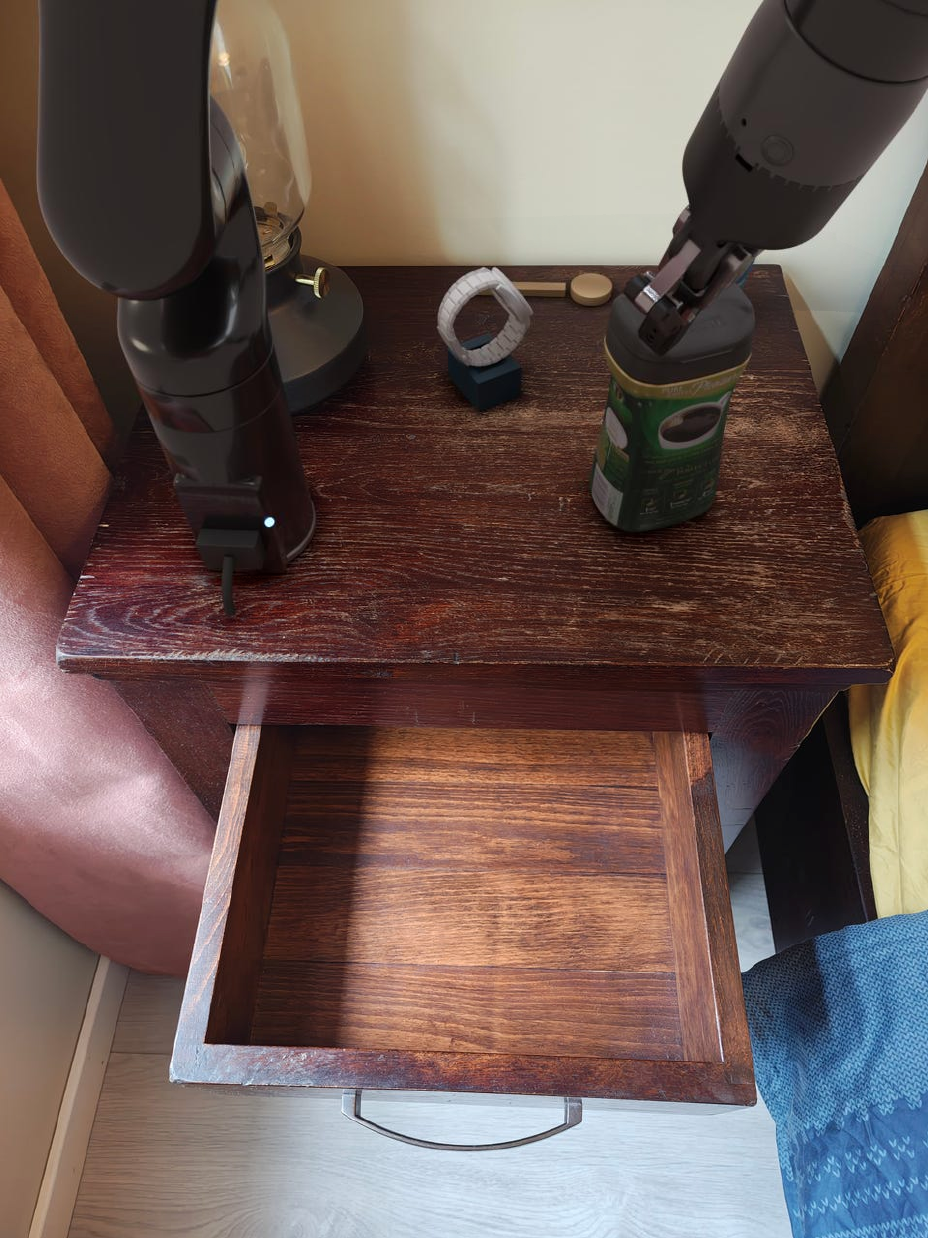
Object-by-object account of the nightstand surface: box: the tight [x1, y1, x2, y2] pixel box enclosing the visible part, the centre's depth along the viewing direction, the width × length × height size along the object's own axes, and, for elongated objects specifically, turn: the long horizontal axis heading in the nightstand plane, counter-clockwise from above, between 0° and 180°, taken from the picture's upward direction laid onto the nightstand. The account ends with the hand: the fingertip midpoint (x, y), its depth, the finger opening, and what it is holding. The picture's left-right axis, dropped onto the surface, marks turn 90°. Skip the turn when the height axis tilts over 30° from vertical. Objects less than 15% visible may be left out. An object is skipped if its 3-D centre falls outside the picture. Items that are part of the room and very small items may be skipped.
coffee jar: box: [589, 283, 756, 533], centre depth 66 cm, size 10×8×19 cm
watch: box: [436, 266, 534, 413], centre depth 77 cm, size 6×8×11 cm
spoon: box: [475, 272, 613, 307], centre depth 89 cm, size 4×14×1 cm, turn 86°
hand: (656, 339), depth 55 cm, fingers closed
